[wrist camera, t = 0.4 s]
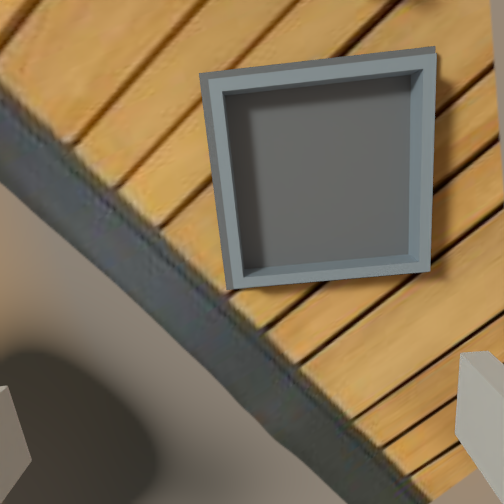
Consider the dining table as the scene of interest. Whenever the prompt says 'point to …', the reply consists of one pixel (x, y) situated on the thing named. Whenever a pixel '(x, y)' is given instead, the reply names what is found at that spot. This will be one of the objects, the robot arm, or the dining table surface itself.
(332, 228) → the tray
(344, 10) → the dining table surface
